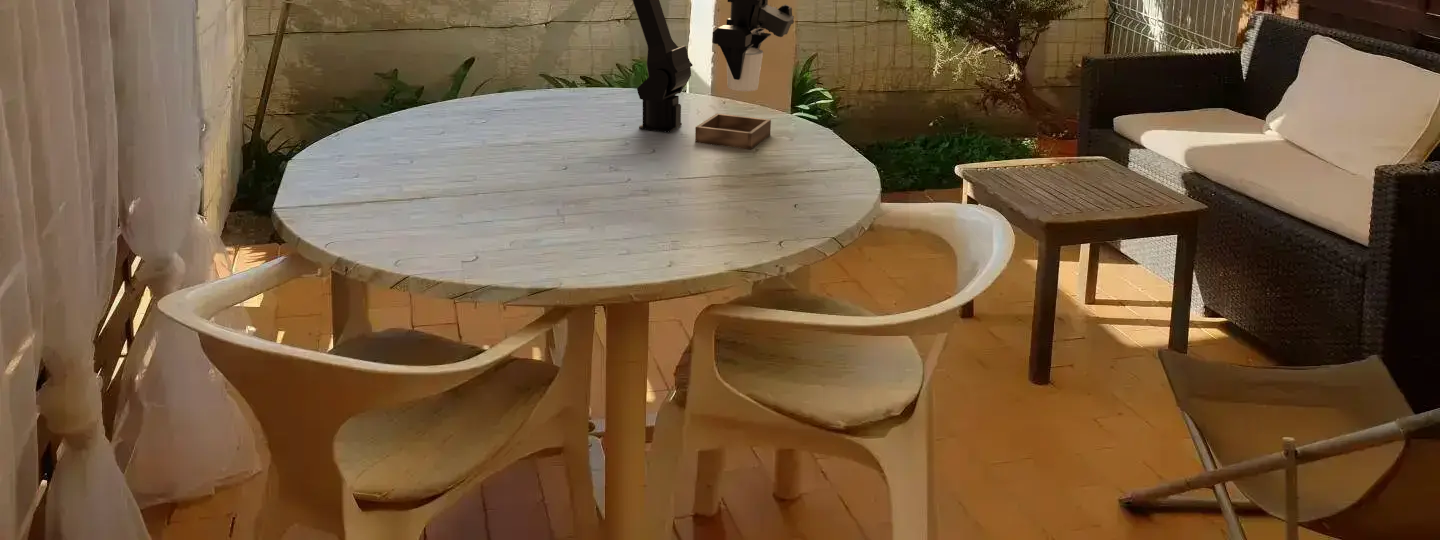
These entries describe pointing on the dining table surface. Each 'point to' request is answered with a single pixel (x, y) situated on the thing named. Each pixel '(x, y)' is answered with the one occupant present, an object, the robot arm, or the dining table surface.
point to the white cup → (747, 72)
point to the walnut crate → (733, 131)
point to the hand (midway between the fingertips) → (743, 75)
